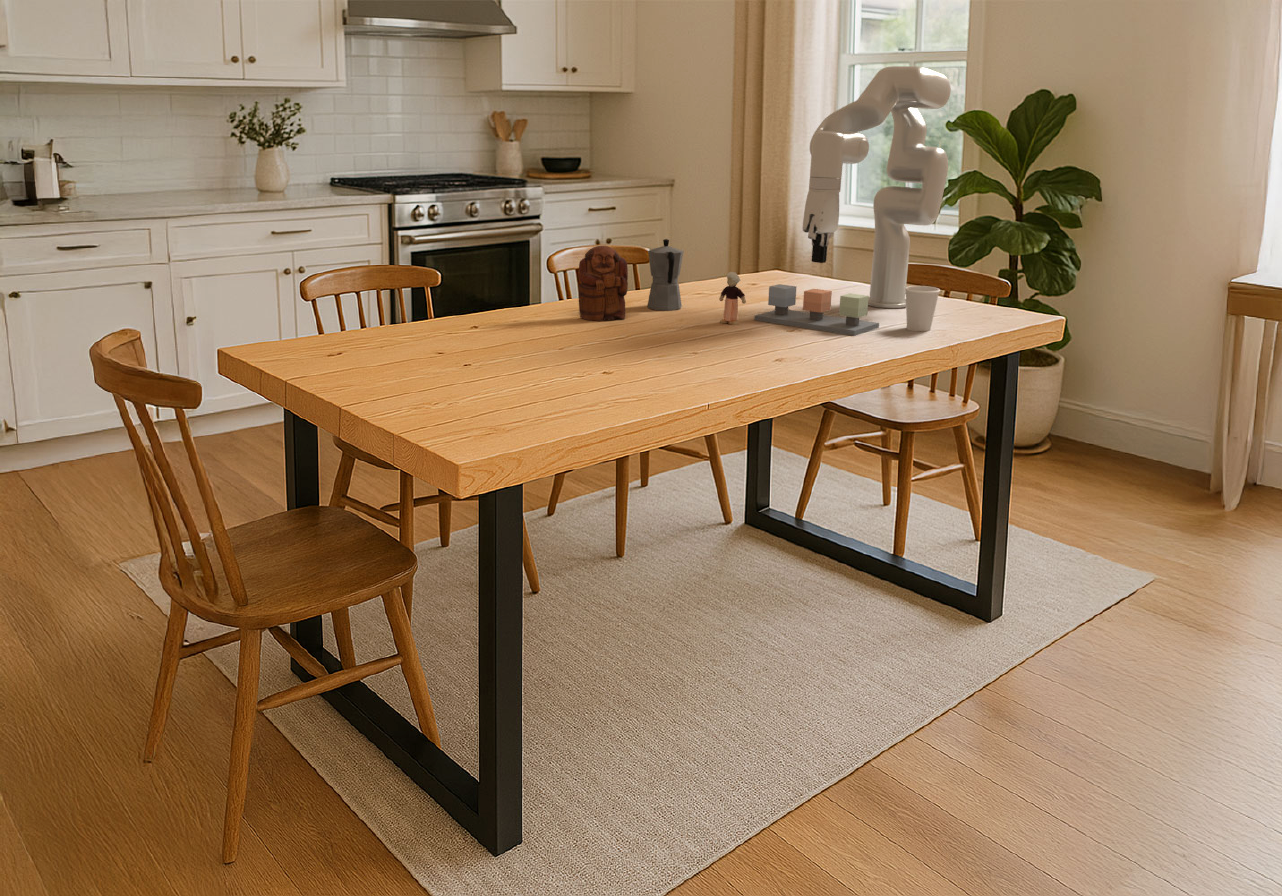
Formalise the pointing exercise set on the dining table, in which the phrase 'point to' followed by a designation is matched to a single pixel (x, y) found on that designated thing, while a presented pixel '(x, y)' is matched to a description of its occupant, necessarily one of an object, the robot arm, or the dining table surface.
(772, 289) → the button slate
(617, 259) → the wooden figurine
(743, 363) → the dining table surface
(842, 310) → the button sage
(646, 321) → the dining table surface
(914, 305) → the dixie cup
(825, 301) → the button terracotta
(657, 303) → the coffeepot
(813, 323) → the button board
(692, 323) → the dining table surface
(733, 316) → the grandmother figurine
